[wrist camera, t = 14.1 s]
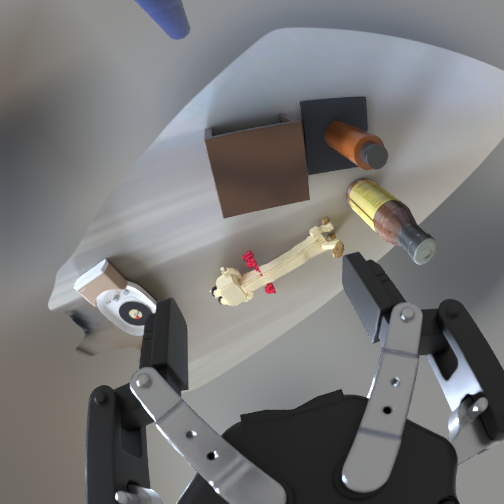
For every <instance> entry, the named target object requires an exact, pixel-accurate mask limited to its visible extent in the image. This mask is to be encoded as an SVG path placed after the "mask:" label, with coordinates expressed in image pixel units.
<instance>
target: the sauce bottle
mask: <svg viewBox="0 0 504 504" xmlns="http://www.w3.org/2000/svg"><path fill="white" fill-rule="evenodd" d="M347 201H348V203H349V204H350V206H351V207H352V209H353V210H354V211H355V212H356V213H357V214H358V215H359V216H360V217H361V218H362V219H363V220H364V221H365V222H366V223H367V224H368V225H369V226H370V227H371V228H372V229H373V230H374V231H375V232H376V233H377V234H378V235H380V236H381V237H382V238H383V239H384V240H385V241H386V242H389V243H391V244H394V245H396V246H401V247H402V248H404V249H405V250H406V251H407V252H408V253H409V255H410V257H411V259H412V260H413V261H414V262H415V263H417V264H424V263H426V262H428V261H429V260H430V259H431V258H432V256H433V255H434V254H435V252H436V249H437V244H436V240H435V239H434V238H433V237H432V236H431V235H430V234H427V233H425V232H424V231H423V230H422V229H421V228H420V227H419V226H418V225H417V223H416V221H415V219H414V217H413V216H412V214H411V211H410V210H409V208H408V207H407V206H406V205H405V204H404V203H402V202H401V201H399V200H398V199H397V198H395V197H394V196H393V195H391V194H390V193H389V192H387V191H386V190H385V189H383V188H382V187H380V186H379V185H378V184H376V183H375V182H373V181H371V180H368V179H364V178H362V179H359V180H356V181H354V182H353V183H352V184H351V185H350V187H349V189H348V192H347Z"/></svg>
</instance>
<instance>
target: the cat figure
mask: <svg viewBox="0 0 504 504" xmlns="http://www.w3.org/2000/svg"><path fill="white" fill-rule="evenodd" d="M322 223H323V225H321V226H319V227H318V226H317V227H316V226H315V227H313V228H311V229H310V231H309V233H310V236H309V237H307V238H306V240H304V241H302V242H301V243H299V244H297V245H296V246H294V247H292V248H293V249H291V250H289V251H287V252H286V253H284V254H282V255H281V256H279V257H277V258H275V259H274V260H272V261H270V262H269V263H267V264H263V265H261V266H260V267H258V266H257V263H256V261H255V259H254V257H253V256H254V255H253V254H252V252H251V251H250V250H249V251H248V252H246V253H247V254H244V255H243V256H242V257H243V259H244V260H245V261H247V262H248V263H246V265H247V266H248V268H252V266H254V268H255V270H253V271H251V272H247V273H246V274H244V275H241V274H240V273H239V271H238V270H237V269H236V270H235V269H234V268H227V270H226V269H225V268H224V267H221V268H220V270H221V272H222V274H223V275H222V276H220V277H218V278H217V280H216V286H215V287H213V288H212V290H211V291H210V293H212V295H213V296H214V297H215V298H216V299H217V298H218V297H219V303H220V304H223V305H224V304H225V305H226V304H229V305H230V306H236V305H238V304H240V303H241V302H243V301H245V302H246V303H247V302H249V300H250V299H252V298H254V297H253V296H254V291H255V290H257V289H258V288H260V287H262V286H264V285H265V284H267V287H265V291H266V293H267V294H268V293H269V294H270V293H276V291H275V288H274V286H273V284H272V282H273V281H275V280H276V279H278V278H280V277H281V276H283V275H285V274H287V273H288V272H290V271H292V270H293V269H295V268H297V267H299V266H300V265H302V264H304V263H305V262H307V260H308V259H310V258H312V257H313V256H315V255H317V254H318V253H323V252H325V251H327V250H328V249H332V250H333V251H331V252H332V254H333V256H334V257H335V258H336V257H337V258H339V257H340V256H342V254H343V252H344V251H343V250H344V248H343V247H344V245H343V243H342V242H341V241H338V239H337V238H336V237H335V235H334V233H333V232H332V233H330V234H328V237H329V239H330V240H327V241H326V238H325V237H324V235H323V234H322V233H324V232H327V231H329V232H330V231H331V230H333V229H334V228H333V226H332V224H331V223H330V222H329V220H328V219H327V218H326V217H325V218H324V219H322ZM248 293H249V294H248Z"/></svg>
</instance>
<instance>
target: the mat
mask: <svg viewBox="0 0 504 504" xmlns="http://www.w3.org/2000/svg"><path fill="white" fill-rule="evenodd" d="M300 105H301V113H302V120H303V128H304V137H305V145H306V154H307V164H308V174H309V175H311V174H317V173H323V172H329V171H335V170H341V169H347V168H353V167H359V166H357V165H356V164H355V163H353V162H352V161H350V160H349V159H347V158H346V157H344V156H343V155H341V154H340V153H338V152H337V151H335V150H334V149H332V148H331V147H330V146H328V144H327V143H326V141H325V131H326V128H327V127H328V126H329V125H330V124H331V123H332V122H335V121H343V122H345V123H348V124H350V125H352V126H355V127H357V128H359V129H362V130H364V131H366V132H368V125H367V109H366V97H348V98H333V99H321V100H311V101H302V102H300Z"/></svg>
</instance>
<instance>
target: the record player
mask: <svg viewBox="0 0 504 504" xmlns="http://www.w3.org/2000/svg"><path fill="white" fill-rule="evenodd" d="M74 288H75V289H76V290H77V291H78V292H79V293H80V294H81V295H82V296H83V297H84V298H85V299H87V300H88V301H89V302H90V303H91V304H92V305H93V306H94V307H96V305H97V306H98V308H99V310H100V311H101V313H102V314H103V315H104V316H106V317H107V318H108V319H109V320H110V321H111V322H113V323H114V324H115V325H116V326H118V327H119V328H120V329H122V330H123V331H125V332H127V333H129V334H132V335H137V336H143V334H144V324H145V321H146V320H147V318H148V316H149V314H152V313H155V311H156V303H157V301H156V300H155V299H154V298H152V297H151V296H150V295H149V294H148V293H147V292H146V291H145V290H144V289H143V288H142V287H140V286H139V285H137V284H135V283H133V282H130V281H126V279H125V278H124V277H122V276H121V275H120V274H119V273H118V272H117V270H116V269H115V268H114V267H113V266H112V265H111V264H110V263H109V262H108V261H107V260H106V259H104V260H103V261H101V262H100V263H98V264H97V265H96V266H94V267H93V268H91V269H90V270H89V271H87V272H86V273H85V274H83V275H82V276H81V277H79V278H78V279H77V281H76V283H75V285H74Z"/></svg>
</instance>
